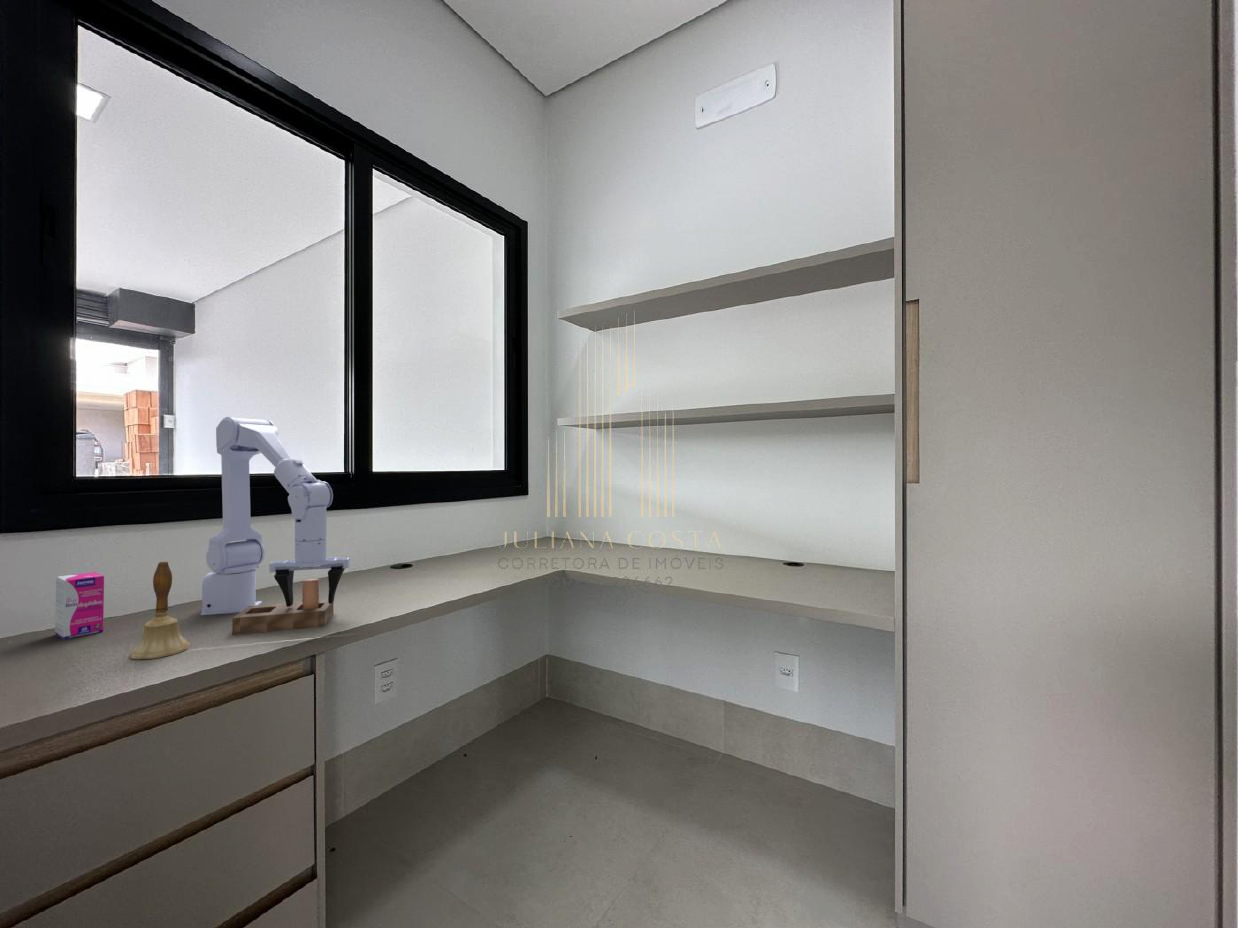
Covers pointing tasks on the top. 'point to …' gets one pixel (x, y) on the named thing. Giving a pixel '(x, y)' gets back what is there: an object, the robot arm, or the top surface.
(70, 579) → the supplement box
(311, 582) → the peg
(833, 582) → the top surface
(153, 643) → the hand bell
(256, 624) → the hole block
